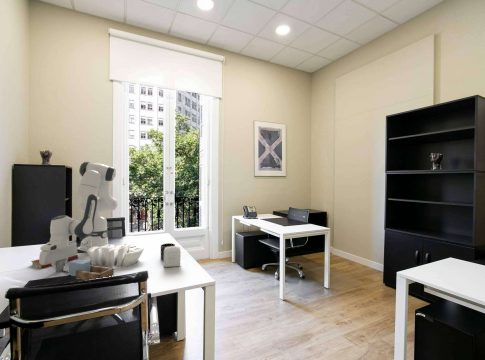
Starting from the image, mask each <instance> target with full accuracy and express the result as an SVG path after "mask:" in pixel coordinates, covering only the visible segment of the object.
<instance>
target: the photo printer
mask: <svg viewBox="0 0 485 360" xmlns="http://www.w3.org/2000/svg"><path fill="white" fill-rule="evenodd" d="M180 266H181V248H180V247H179V246H176V245H175V246H170V247H166V248H165V249H164V260H163V267H164V268H167V267H169V268H170V267H171V268H172V267H180Z"/></svg>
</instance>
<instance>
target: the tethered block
mask: <svg viewBox="0 0 485 360" xmlns="http://www.w3.org/2000/svg"><path fill="white" fill-rule="evenodd" d="M90 265H91V260H85V259H79V258H78V259H75V260H72V261H68V271H67V270H64V266H63V259H62V260H59V261H56V266H58V268H57V269H55V273H66V274H68V276H69V275H71V276H70V277H75V276H76V271H77V270H80V271H87V272H90Z"/></svg>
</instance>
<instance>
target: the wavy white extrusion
mask: <svg viewBox="0 0 485 360" xmlns="http://www.w3.org/2000/svg"><path fill="white" fill-rule="evenodd" d="M131 247H132V243H131V242H129V243H124V245H114V244H109V245H105V246H101V247H98V246H95V247H92V248H90V249H88V250H87V252H86V253H87V255H88V258H89V261H90V263H91V265H93V266H100V267H104V265H105V267H107V268H114V267H115V266H116V267H129V266H132V265H134V264H136V263H137V262H138V261H139V259H140V258H141V256H142V254H143V252H144V250H145V248H144V247H141V246H140V247H139V246H137V247H132V248H131Z"/></svg>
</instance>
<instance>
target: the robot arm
mask: <svg viewBox="0 0 485 360" xmlns="http://www.w3.org/2000/svg"><path fill="white" fill-rule="evenodd" d="M78 171H79V174H80V176H81V179H80V181H79V183H78V186H77V190H76V191H77V192H76V196H77V197H78V198H79V199H80V201H79V203H78V206H77V208H78V209H79V211H80V212H81V213H82V214H83V215H82V218H81V219H78V218H77V219H76V218H72V217H70V216H68V215H66V214H63V215H57V216H55V217H53V218H52V219H51V221H50V227H49V230H50V231H49V233H50V238H49V241H48V242H47V243H45V244H43V245H41V247H40V250H41V251H40V253H39V257H38V259H39V263H40V264H41V265H47V264H50V263H51V265H52V266H51V267H52V269H53V270H56V269H57V268H58V266H56V265H55V263H56V261H59V260H62V259H63V260H64V261H63V267H66V266H67V260H68V258H69V257H72V256H75V255H78V250H79V251H81V252H86V253H87V250H88V249H90V248H92V247H95V246H98V247H101V246H105V245H110V244H109V238H108V221H107V218H106V217H104V216H100V215H99V213H106V212H112V211H115V210H116V209H117V208H118V200H117V199H116V198H115V197H113V196H112V195H111V193H110V182H111V181H113V180H114V179H115V177H116V175H117V171H116V169H115V167H113V166H111V165H110V166H109V165H106V164H104V163H103V164H102V163H96V162H90V161H84V162H83V163H81V164H80V166H79V170H78ZM70 236H74V237H78V238H81V239H82V240H81V241H80V246H77V241H75V240H70Z"/></svg>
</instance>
